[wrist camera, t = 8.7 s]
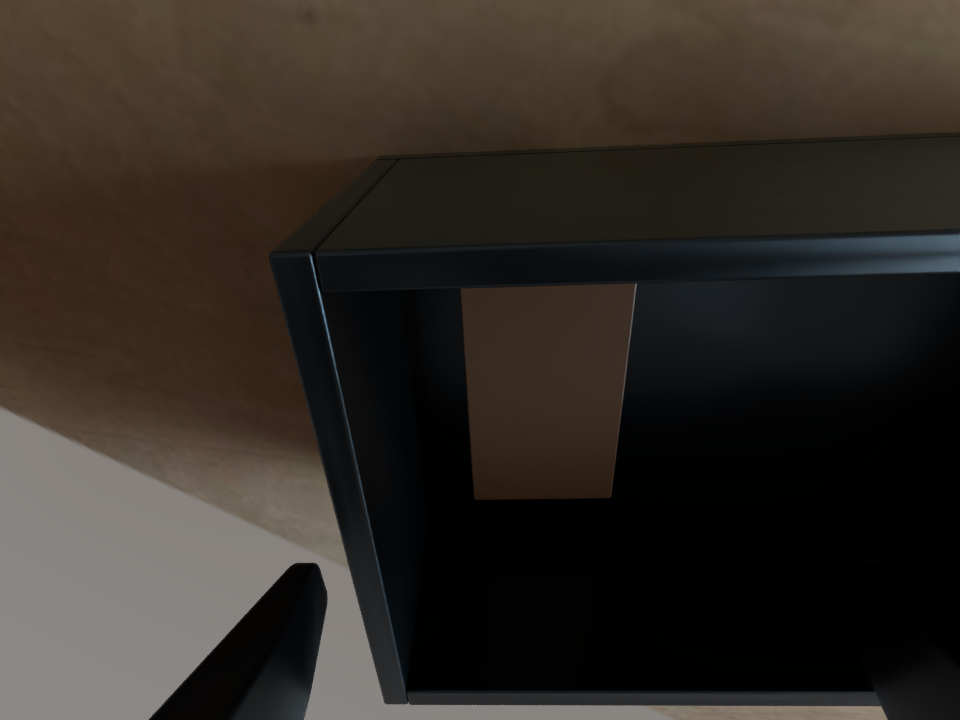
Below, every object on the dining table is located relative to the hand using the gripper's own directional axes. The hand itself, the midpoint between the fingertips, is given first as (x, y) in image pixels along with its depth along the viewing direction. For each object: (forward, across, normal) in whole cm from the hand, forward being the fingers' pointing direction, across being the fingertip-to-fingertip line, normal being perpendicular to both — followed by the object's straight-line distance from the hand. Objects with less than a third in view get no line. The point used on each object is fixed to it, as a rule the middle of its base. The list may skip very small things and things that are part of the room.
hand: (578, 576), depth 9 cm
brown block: (+8, 0, 0) cm, 8 cm away
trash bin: (+8, -6, 0) cm, 10 cm away
